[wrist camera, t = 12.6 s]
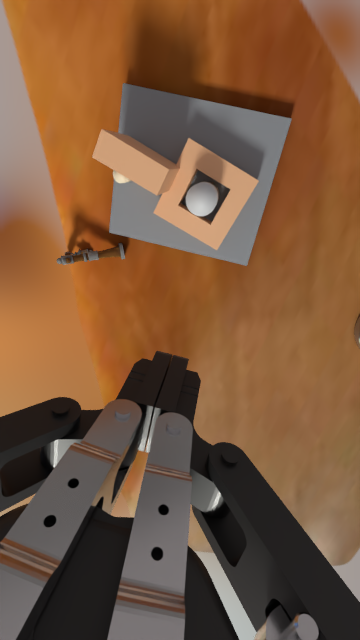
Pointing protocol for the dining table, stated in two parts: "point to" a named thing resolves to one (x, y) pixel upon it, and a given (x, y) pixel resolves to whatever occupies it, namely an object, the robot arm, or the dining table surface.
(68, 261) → the wooden post with brackets
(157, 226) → the post base
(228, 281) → the dining table surface
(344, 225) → the dining table surface
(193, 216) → the peach open lidded box
